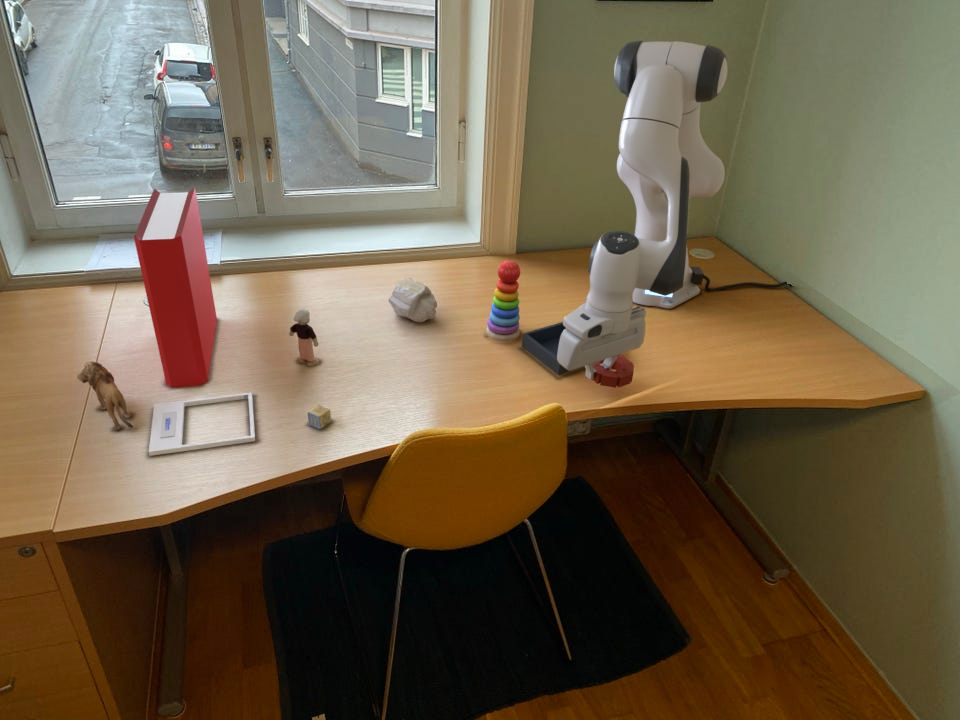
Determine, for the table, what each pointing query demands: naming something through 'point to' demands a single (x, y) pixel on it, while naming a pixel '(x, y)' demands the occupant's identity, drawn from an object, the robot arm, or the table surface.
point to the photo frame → (171, 422)
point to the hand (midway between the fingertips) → (597, 374)
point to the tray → (546, 346)
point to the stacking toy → (505, 304)
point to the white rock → (413, 300)
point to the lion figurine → (105, 391)
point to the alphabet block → (319, 417)
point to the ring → (614, 373)
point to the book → (178, 286)
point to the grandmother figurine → (304, 337)
